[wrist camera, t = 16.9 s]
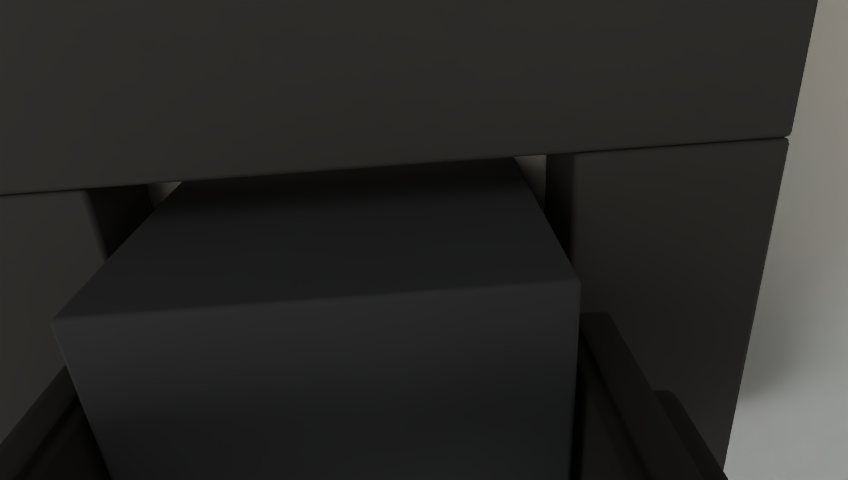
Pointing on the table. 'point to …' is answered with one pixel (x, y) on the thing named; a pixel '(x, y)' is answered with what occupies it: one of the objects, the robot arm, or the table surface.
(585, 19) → the base pad
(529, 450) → the black cube block
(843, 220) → the table surface
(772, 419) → the table surface
